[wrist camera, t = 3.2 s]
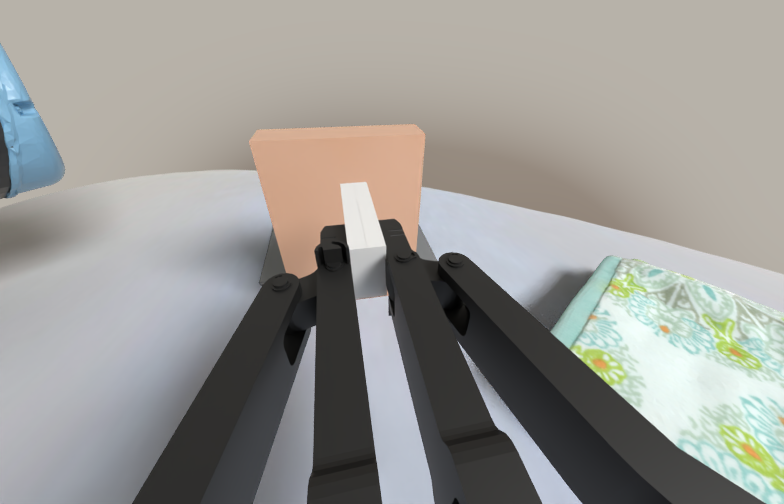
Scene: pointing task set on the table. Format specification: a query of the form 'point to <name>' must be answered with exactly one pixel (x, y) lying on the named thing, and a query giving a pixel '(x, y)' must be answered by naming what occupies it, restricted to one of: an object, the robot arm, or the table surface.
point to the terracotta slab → (336, 181)
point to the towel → (688, 365)
